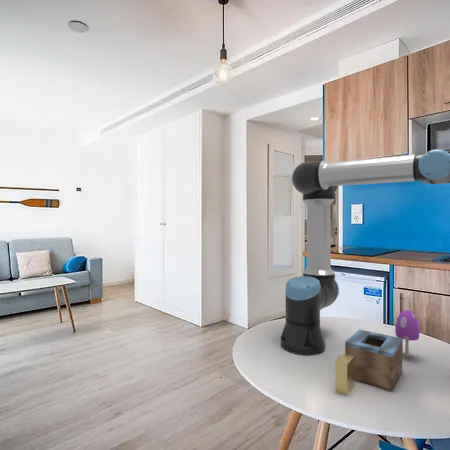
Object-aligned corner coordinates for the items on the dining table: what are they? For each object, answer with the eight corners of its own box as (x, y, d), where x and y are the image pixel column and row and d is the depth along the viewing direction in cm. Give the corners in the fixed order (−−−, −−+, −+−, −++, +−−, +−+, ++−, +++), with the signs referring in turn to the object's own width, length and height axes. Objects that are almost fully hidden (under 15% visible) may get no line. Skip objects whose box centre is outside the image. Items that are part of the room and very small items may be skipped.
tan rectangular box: (335, 391, 83) (335, 360, 83) (343, 382, 88) (343, 353, 88) (347, 395, 81) (347, 364, 81) (354, 385, 86) (354, 356, 86)
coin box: (345, 377, 90) (345, 342, 90) (359, 361, 100) (359, 329, 100) (392, 391, 83) (392, 353, 83) (402, 372, 93) (402, 338, 93)
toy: (422, 362, 100) (423, 314, 99) (399, 360, 101) (399, 312, 101) (414, 353, 106) (414, 308, 106) (392, 351, 108) (392, 307, 107)
